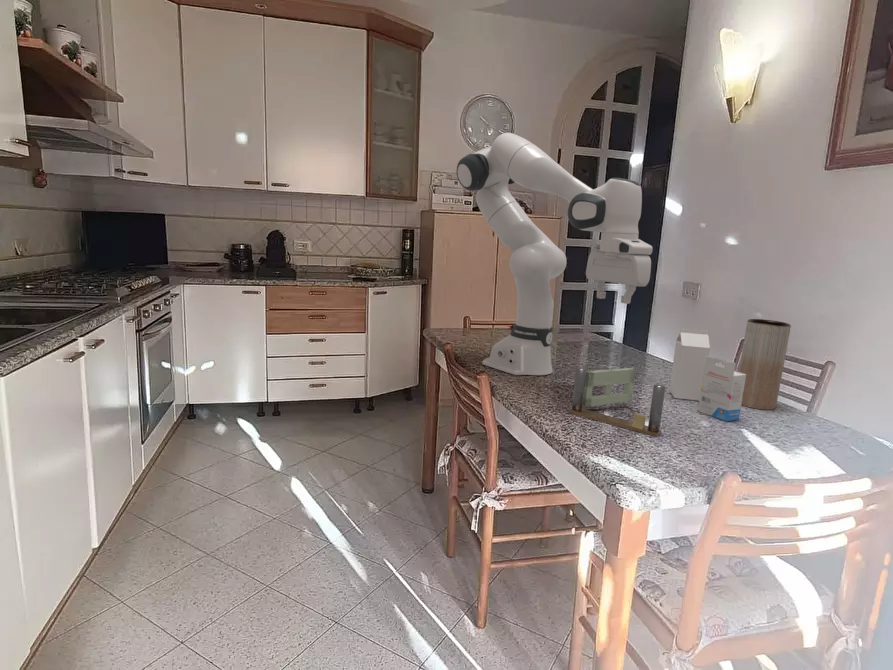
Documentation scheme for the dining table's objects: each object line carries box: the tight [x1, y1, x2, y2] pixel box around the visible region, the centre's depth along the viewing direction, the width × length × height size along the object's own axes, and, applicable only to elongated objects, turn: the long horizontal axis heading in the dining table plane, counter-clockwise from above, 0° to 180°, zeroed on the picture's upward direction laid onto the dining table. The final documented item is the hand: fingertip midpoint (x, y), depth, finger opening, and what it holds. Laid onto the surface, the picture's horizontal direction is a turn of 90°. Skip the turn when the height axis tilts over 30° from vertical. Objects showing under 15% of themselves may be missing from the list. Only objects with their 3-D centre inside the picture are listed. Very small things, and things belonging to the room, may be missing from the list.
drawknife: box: [568, 366, 666, 437], centre depth 125 cm, size 21×3×11 cm, turn 51°
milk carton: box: [669, 327, 711, 402], centre depth 149 cm, size 7×7×19 cm
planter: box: [738, 318, 792, 411], centre depth 145 cm, size 10×10×23 cm
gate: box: [582, 367, 636, 408], centre depth 135 cm, size 15×1×8 cm, turn 116°
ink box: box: [697, 355, 746, 422], centre depth 135 cm, size 8×5×15 cm, turn 26°
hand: (612, 300), depth 137 cm, fingers open, 8 cm apart
